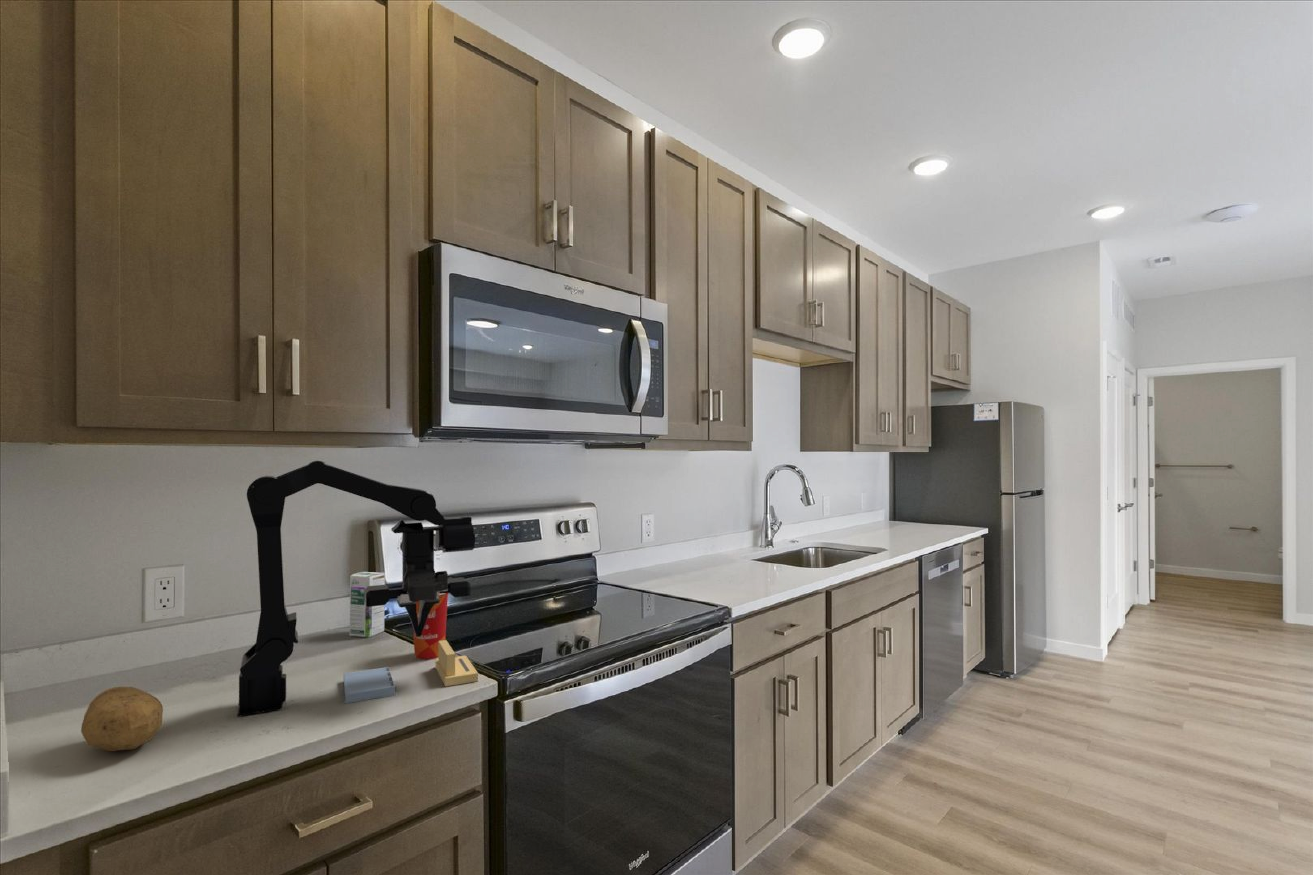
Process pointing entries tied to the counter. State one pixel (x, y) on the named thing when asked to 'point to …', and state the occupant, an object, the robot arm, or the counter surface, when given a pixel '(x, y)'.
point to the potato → (121, 719)
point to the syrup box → (361, 616)
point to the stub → (454, 666)
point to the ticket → (368, 684)
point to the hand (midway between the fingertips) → (418, 636)
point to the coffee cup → (432, 630)
